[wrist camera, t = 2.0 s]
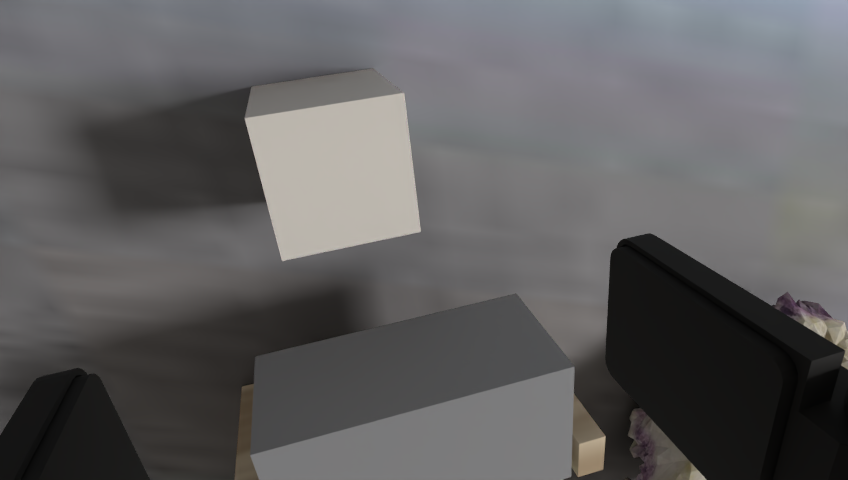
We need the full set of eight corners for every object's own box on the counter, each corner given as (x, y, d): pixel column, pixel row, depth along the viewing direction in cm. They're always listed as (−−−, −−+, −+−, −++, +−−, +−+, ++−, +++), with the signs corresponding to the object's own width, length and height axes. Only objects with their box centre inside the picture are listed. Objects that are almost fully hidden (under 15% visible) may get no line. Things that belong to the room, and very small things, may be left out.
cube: (251, 86, 21) (244, 118, 16) (372, 68, 22) (404, 92, 17) (280, 200, 23) (281, 261, 18) (389, 179, 24) (420, 232, 19)
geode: (750, 273, 40) (609, 280, 34) (904, 292, 32) (759, 305, 25) (736, 486, 41) (596, 535, 35) (882, 558, 33) (737, 641, 26)
